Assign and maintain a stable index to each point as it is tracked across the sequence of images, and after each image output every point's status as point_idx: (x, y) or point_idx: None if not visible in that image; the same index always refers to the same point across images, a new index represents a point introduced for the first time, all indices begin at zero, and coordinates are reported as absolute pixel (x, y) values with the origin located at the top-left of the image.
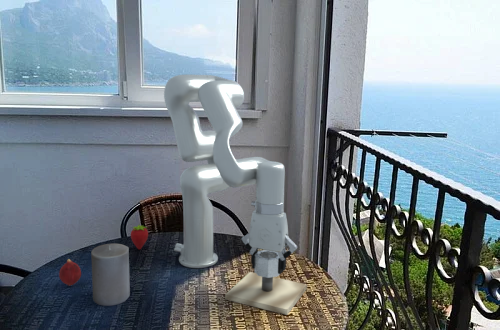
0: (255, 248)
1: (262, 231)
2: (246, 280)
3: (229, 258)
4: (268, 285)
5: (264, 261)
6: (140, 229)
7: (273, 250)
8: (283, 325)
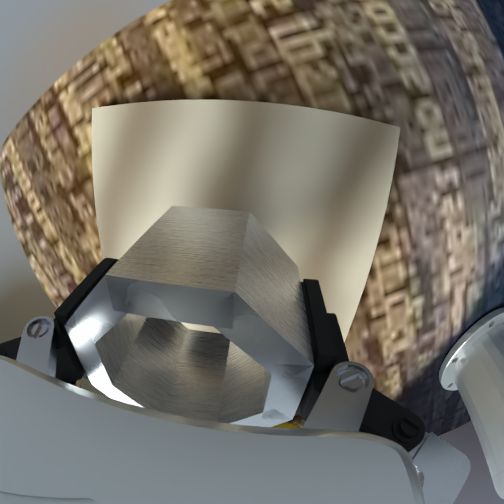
0: (313, 426)
1: None
2: (343, 284)
3: (408, 391)
4: None
5: (157, 267)
6: None
7: (18, 371)
8: (101, 43)
